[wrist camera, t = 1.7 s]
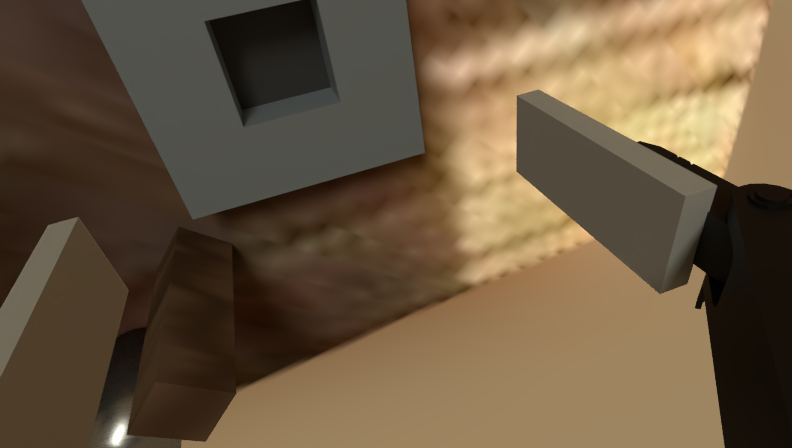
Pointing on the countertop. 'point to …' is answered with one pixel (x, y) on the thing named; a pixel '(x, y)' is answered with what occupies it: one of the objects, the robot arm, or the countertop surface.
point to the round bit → (123, 398)
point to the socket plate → (265, 90)
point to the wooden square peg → (187, 342)
